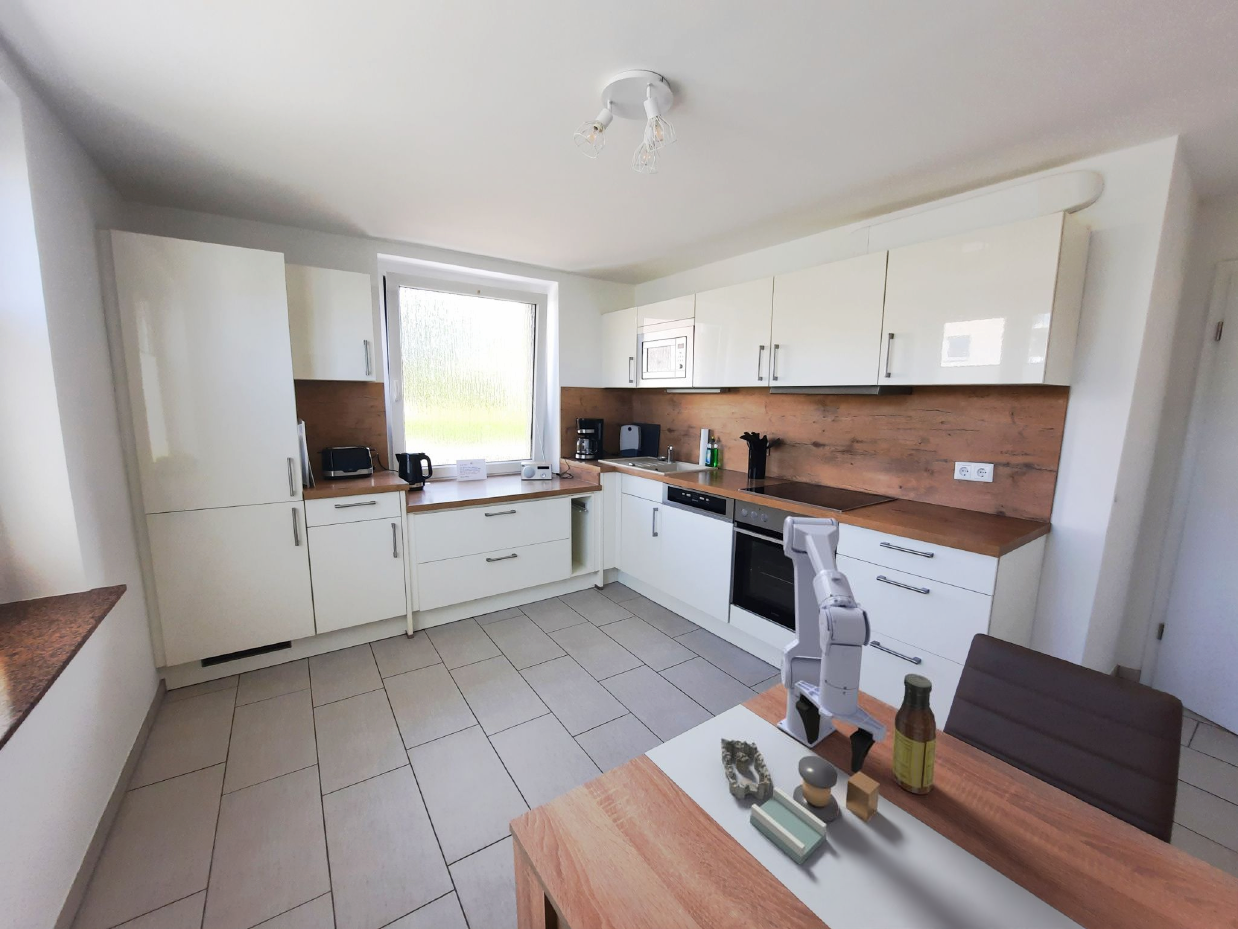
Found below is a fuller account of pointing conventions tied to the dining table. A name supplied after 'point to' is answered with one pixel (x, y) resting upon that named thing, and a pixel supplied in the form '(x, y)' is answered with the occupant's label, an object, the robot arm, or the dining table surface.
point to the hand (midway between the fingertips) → (833, 755)
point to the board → (789, 825)
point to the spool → (817, 788)
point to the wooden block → (862, 795)
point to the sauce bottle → (915, 737)
